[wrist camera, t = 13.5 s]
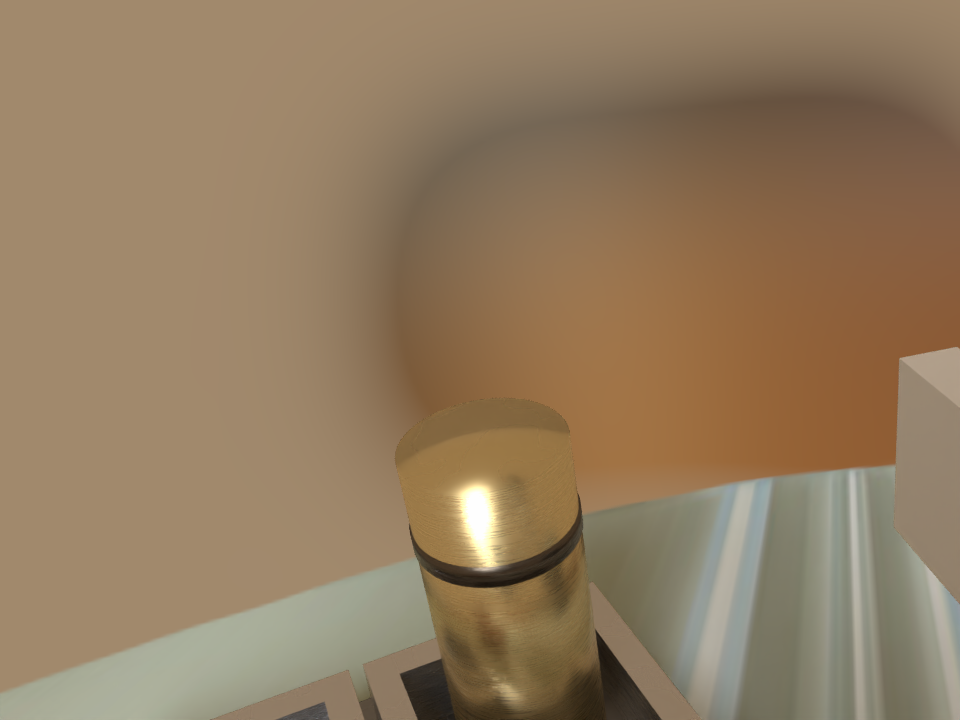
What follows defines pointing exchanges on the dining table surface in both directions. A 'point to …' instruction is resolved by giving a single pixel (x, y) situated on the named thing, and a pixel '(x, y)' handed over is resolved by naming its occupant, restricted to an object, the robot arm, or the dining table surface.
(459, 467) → the tube
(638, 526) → the dining table surface
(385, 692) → the divided compartment tray
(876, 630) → the dining table surface
